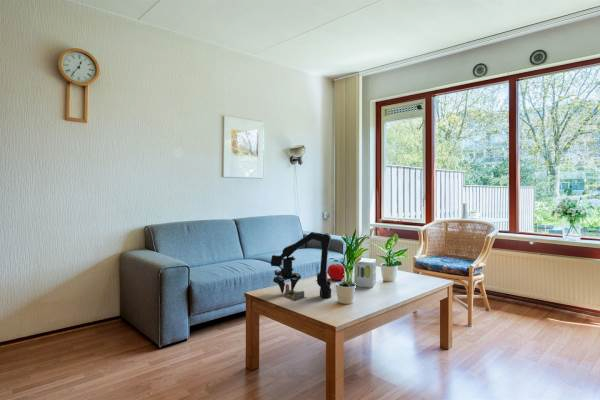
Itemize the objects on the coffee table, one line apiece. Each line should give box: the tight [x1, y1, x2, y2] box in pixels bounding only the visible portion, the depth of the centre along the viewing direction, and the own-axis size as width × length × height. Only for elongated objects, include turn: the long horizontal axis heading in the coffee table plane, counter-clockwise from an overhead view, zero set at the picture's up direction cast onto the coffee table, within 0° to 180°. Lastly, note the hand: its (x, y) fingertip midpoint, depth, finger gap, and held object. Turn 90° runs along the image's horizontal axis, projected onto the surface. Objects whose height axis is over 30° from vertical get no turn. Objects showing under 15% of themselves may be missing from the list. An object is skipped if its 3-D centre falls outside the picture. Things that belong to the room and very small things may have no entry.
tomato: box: [327, 263, 345, 281], centre depth 267 cm, size 12×13×12 cm
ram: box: [284, 283, 295, 296], centre depth 226 cm, size 5×5×6 cm
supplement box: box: [353, 257, 377, 289], centre depth 254 cm, size 13×13×18 cm
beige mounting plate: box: [278, 290, 307, 302], centre depth 223 cm, size 14×10×5 cm
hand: (287, 291), depth 227 cm, fingers open, 8 cm apart
